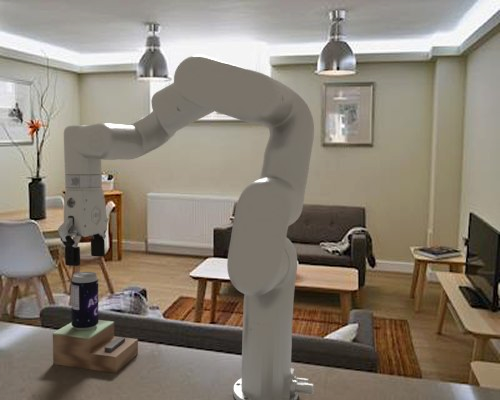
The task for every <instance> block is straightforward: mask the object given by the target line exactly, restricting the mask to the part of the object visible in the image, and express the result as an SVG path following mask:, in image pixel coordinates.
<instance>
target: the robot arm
mask: <svg viewBox="0 0 500 400" xmlns="http://www.w3.org/2000/svg"><path fill="white" fill-rule="evenodd" d="M150 101H151V110H152V111H151V112H150V113H149V114H148V115H146V116H145V117H143V118H141V119H139V120H137V121H135V122H133V123H131V124H130V125H129V124H128V125H127V124H121V123H109V122H101V123H100V122H99V123H93V124H90V125H85V124H83V125H81V124H80V125H79V124H78V125H76V124H75V125H68V126H66V127H65V128H64V130H63V150H64V151H63V155H64V156H63V157H64V184H65V185H64V186H65V188H64V189H65V194H64V202H63V223H62V224H61V225H60V226H59V227H58V229H57V233H58V234H59V238H60V239H59V240H60V241H61V242H62V246H63V247H64V259H65V262H64V264H65V266H69V267H70V266H71V267H78V266H80V265H81V247H80V246H79V243H80V241H81V239H82V237H83V238H87V237H92V238H90V254H91V255H90V256H91V257H102V258H103V257H105V256H106V253H105V251H106V250H105V249H106V248H105V245H106V244H105V243H106V241H105V239H106V238H107V237H106V232H107V230H108V228H107V227H108V223H109V222H108V221H109V218H108V216H107V208H106V198H105V193H104V189H103V180H102V178H103V177H102V176H103V175H102V161H103V160H105V161H106V160H108V161H111V160H112V161H113V160H114V161H115V160H122V161H123V160H126V161H127V160H135V159H138V158H140V157H142V156H145V155H147V154H149V153H150V152H151V153H152V152H153V151H155V150H157V149H159V148H160V147H162V146H163V145H164V144H166V143H168V141H169V140H170V139H171V138H172V137H174V135H175V134H176V133H177V132H179V131H180V130H182V129H183V128H186V127H187V126H189V125H191V124H193V123H195V122H197V121H198V120H200V119H202V118H204V117H206V116H208V115H210V114H213V113H214V112H216V113H219V114H222V115H224V116H227V117H230V118H233V119H236V120H240V121H242V122H244V123H249V124H252V125H253V124H254V125H258V126H264V127H267V129H268V131H269V137H268V140H267V143H266V147H265V149H264V154H263V162H262V168H261V173H260V177H259V179H256V180H254V181H252V182H251V183H249V184H247V186H245V188H244V189H243V190H242V192H241V193H240V196H239V197H238V200H237V202H236V207H235V212H234V218H233V223H232V230H231V236H230V241H229V246H228V247H229V248H228V254H227V262H226V263H227V265H226V266H227V274H228V279H229V280H230V283H231V284H232V286H233V287H234V288H235V289H236V290H237V291H239V292H240V293H241V294H243V295H244V296H243V308H242V310H243V312H242V313H243V314H242V336H241V337H242V338H241V339H242V343H241V345H242V347H241V348H242V349H241V377H240V378H239V379H238V380H237V381H235V383H234V384H233V388H232V393H233V397H234V399H235V400H298V398H299V397H298V396H299V393H301V394H305V395H314V383H309V378H307V377H297V375H295V368H292V348H293V347H292V346H293V344H292V341H293V340H292V338H293V337H292V336H293V318H294V298H295V287H296V279H297V272H298V255H297V250H296V248H295V245H294V244H293V242H292V241H291V240H290V239H289V238H288V237H287V236H288V235H287V234H288V229H289V227H290V226H291V225H293V224H294V223H296V221H298V220H299V218H300V216H301V214H302V212H303V207H304V201H305V193H306V187H307V182H308V177H309V170H310V163H311V156H312V152H313V151H312V150H313V146H314V145H313V144H314V138H315V124H314V123H315V122H314V118H313V115H312V112H311V109H310V107H309V106H308V103H307V102H306V101H305V99H303V98H302V96H300V95H299V94H298V93H297V92H296V91H295V90H293V89H292V88H290V87H289V86H287V85H286V84H284V83H283V82H280V81H279V80H276V79H275V78H272V77H270V76H269V75H266V74H264V73H262V72H260V71H255V70H252V69H250V68H246V67H243V66H239V65H235V64H232V63H229V62H225V61H222V60H218V59H217V58H214V57H210V56H207V55H204V54H195V55H191V56H188V57H186V58H185V59H184V60H182V61H181V62H179V64H178V66H177V67H176V69H175V72H174V74H173V82H172V83H171V84H169V85H167V86H165V87H163V88H162V89H159V90H158V91H156V92H155V93H153V95H152V97H151V100H150ZM73 238H74V239H73Z"/></svg>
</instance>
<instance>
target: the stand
mask: <svg viewBox="0 0 500 400" xmlns="http://www.w3.org/2000/svg"><path fill="white" fill-rule="evenodd" d="M137 355H139V339H138V338H132V337H131V338H130V337H124V336H123V337H121V336H115V321H111V320H101V319H98V324H97V325H96V326H95V327H94V328H93V329H90V330H84V331H81V330H76V329H75V327H73V326H72V321H71V322H70V323H67V324H66V325H64V326H62V327H61V328H59V329H57V330H56V331H54V332H52V364H53V365H57V366H64V367H71V368H78V369H85V370H92V371H100V372H106V373H114V374H116V373H118V372H119V371H120V370H121V369H122V368H123V367H125V366H126V365H127V364H129V362H130V361H131V360H132V359H134V358H135V357H137Z"/></svg>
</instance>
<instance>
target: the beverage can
mask: <svg viewBox="0 0 500 400" xmlns="http://www.w3.org/2000/svg"><path fill="white" fill-rule="evenodd" d="M70 285H71V286H70V289H71V290H70V291H71V294H70V296H71V297H70V300H71V303H70V306H71V322H72V326H73V327H75V329H76V330H81V331H84V330H90V329H93V328H94V327H95V326H96V325H97V324H98V320H99V278H98V276H97V273H96V272H94V271H93V272H92V271H83V272H82V271H81V272H76V273H73V275H72V279H71V281H70Z"/></svg>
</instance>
